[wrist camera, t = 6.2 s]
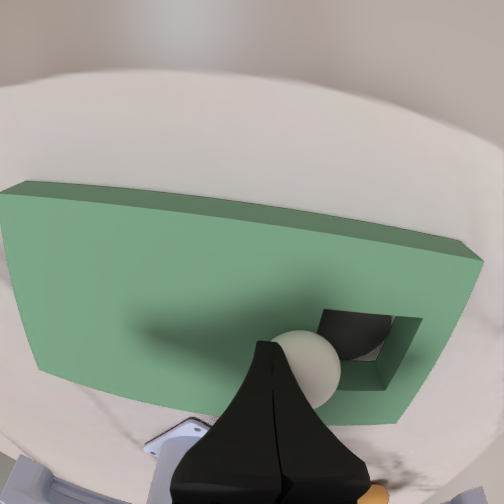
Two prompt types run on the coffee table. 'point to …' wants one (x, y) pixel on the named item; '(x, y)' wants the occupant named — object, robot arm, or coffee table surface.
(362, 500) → the figurine
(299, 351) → the ball
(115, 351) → the putting mat
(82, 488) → the robot arm
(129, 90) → the coffee table surface
